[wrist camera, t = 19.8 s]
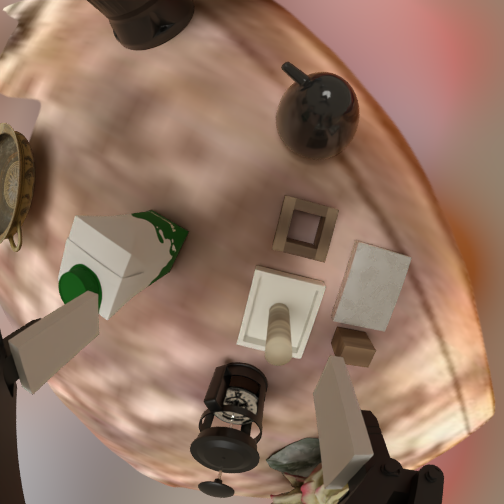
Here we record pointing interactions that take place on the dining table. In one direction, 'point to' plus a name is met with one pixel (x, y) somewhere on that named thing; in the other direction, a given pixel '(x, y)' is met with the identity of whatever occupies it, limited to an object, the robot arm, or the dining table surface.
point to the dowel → (278, 335)
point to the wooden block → (353, 347)
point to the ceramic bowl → (14, 183)
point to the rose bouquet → (303, 474)
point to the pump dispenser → (317, 114)
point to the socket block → (322, 235)
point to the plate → (370, 286)
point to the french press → (228, 439)
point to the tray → (289, 293)
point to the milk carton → (117, 257)
